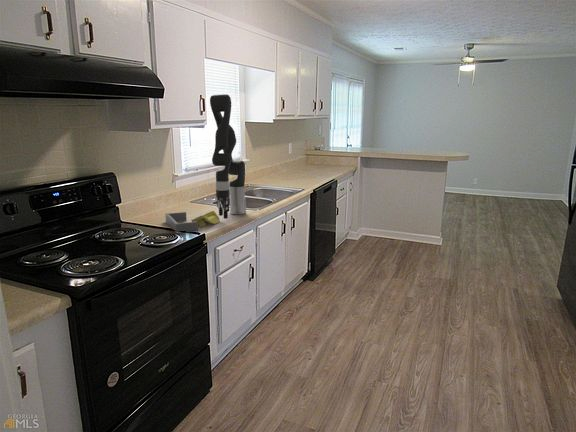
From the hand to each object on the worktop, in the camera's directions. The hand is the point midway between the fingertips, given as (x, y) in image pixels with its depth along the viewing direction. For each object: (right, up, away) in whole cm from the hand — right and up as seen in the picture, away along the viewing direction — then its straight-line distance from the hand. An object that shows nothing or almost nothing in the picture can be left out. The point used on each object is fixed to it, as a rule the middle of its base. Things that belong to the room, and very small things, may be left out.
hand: (223, 216), depth 235 cm
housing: (-21, -5, -9) cm, 23 cm away
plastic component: (-10, -4, -4) cm, 11 cm away
